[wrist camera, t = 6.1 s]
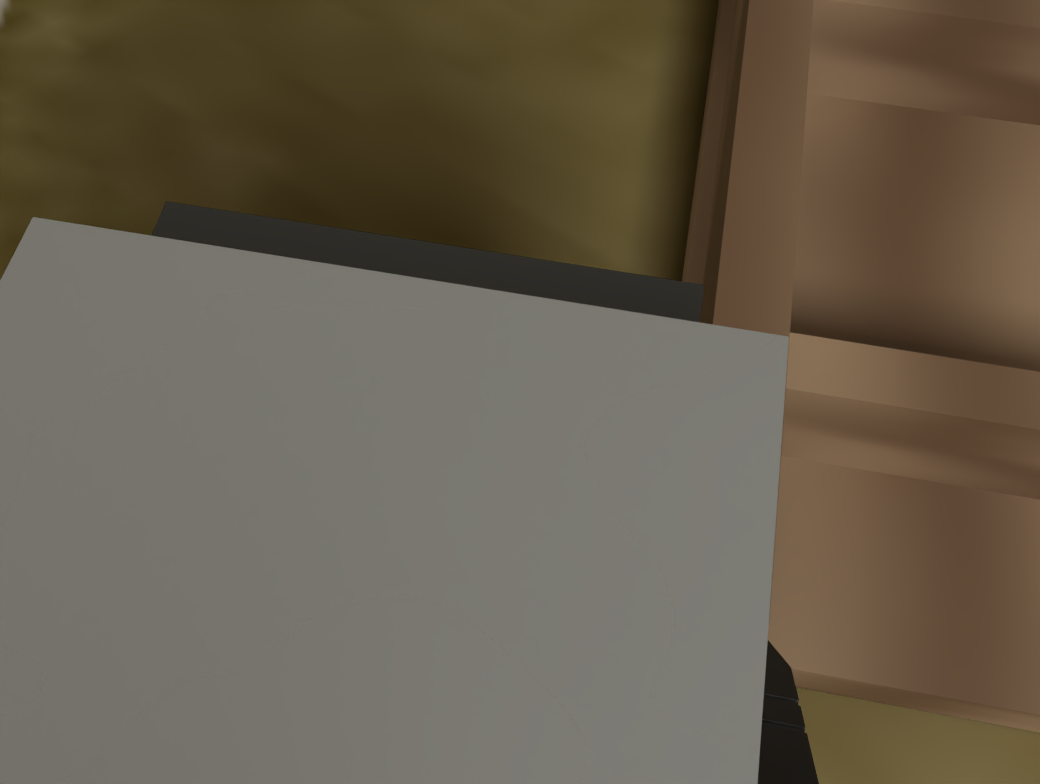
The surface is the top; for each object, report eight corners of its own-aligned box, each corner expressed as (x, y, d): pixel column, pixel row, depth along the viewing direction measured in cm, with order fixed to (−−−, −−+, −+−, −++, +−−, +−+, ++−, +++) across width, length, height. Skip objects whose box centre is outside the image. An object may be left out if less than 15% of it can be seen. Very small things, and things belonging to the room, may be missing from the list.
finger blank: (615, 663, 16) (795, 249, 6) (565, 1013, 14) (712, 1417, 3) (357, 614, 17) (71, 139, 6) (269, 947, 15) (-434, 1131, 4)
